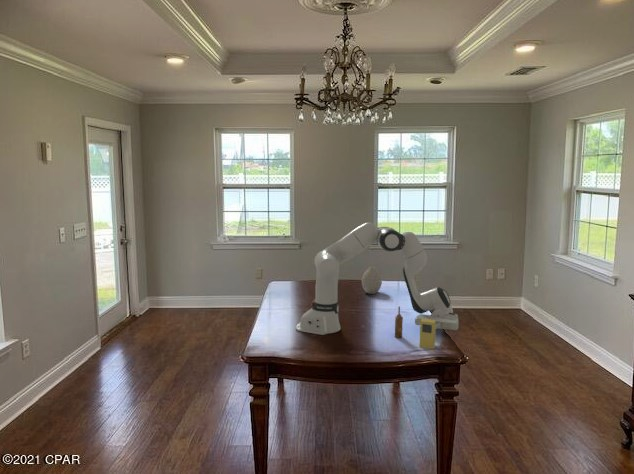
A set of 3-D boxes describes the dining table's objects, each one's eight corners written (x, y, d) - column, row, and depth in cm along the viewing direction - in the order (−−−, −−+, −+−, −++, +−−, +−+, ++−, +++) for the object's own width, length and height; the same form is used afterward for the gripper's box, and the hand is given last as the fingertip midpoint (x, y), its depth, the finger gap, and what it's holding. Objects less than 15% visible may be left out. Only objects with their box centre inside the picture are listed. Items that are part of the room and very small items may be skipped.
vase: (365, 295, 303) (365, 269, 301) (359, 290, 316) (359, 265, 313) (384, 294, 306) (384, 269, 303) (377, 289, 318) (378, 264, 316)
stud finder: (421, 344, 217) (422, 318, 215) (435, 346, 215) (435, 320, 213) (419, 347, 214) (420, 321, 212) (433, 349, 211) (433, 323, 209)
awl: (394, 338, 225) (395, 307, 223) (395, 335, 228) (395, 305, 226) (401, 338, 224) (402, 308, 222) (402, 336, 227) (403, 305, 225)
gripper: (418, 309, 239) (411, 317, 226) (460, 314, 230) (455, 323, 218) (418, 322, 240) (411, 330, 227) (460, 327, 231) (455, 336, 218)
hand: (433, 327), depth 222 cm, fingers closed
